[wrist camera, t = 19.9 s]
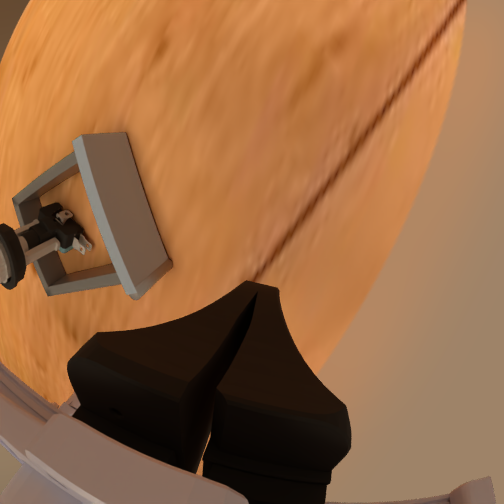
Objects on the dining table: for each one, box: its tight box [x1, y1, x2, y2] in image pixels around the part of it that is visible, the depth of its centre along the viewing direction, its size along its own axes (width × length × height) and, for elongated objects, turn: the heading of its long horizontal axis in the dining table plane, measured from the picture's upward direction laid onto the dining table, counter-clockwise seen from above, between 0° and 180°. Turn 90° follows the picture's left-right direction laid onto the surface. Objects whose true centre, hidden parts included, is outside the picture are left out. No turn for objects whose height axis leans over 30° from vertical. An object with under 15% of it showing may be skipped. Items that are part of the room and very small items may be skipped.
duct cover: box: [72, 132, 172, 300], centre depth 19 cm, size 12×1×5 cm, turn 17°
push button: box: [0, 203, 92, 290], centre depth 19 cm, size 7×5×10 cm
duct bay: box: [12, 151, 121, 296], centre depth 22 cm, size 11×14×3 cm
